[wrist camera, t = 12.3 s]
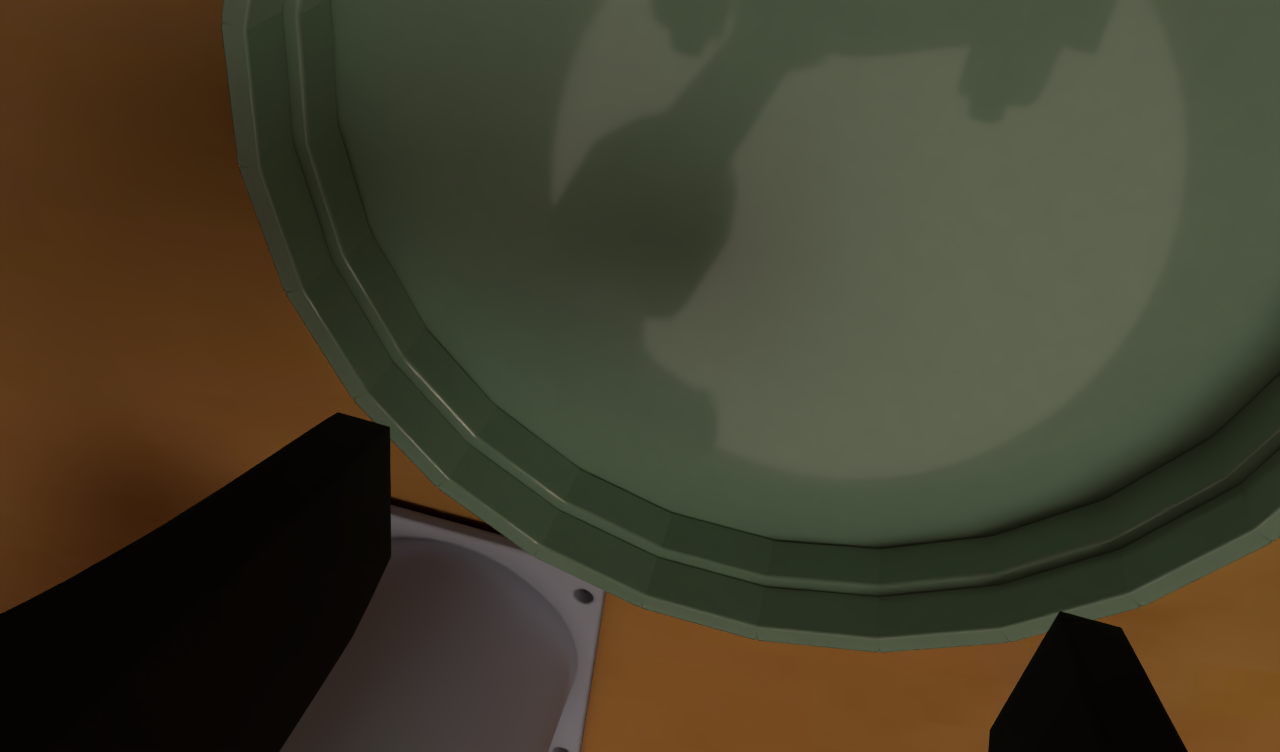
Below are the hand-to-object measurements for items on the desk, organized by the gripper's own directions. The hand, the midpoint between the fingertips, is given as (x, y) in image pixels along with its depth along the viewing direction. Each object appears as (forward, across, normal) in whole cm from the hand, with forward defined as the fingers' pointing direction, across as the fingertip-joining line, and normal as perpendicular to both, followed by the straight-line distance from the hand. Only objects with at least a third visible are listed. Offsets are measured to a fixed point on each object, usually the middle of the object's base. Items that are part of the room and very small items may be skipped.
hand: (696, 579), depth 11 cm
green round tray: (+10, 0, -1) cm, 10 cm away
